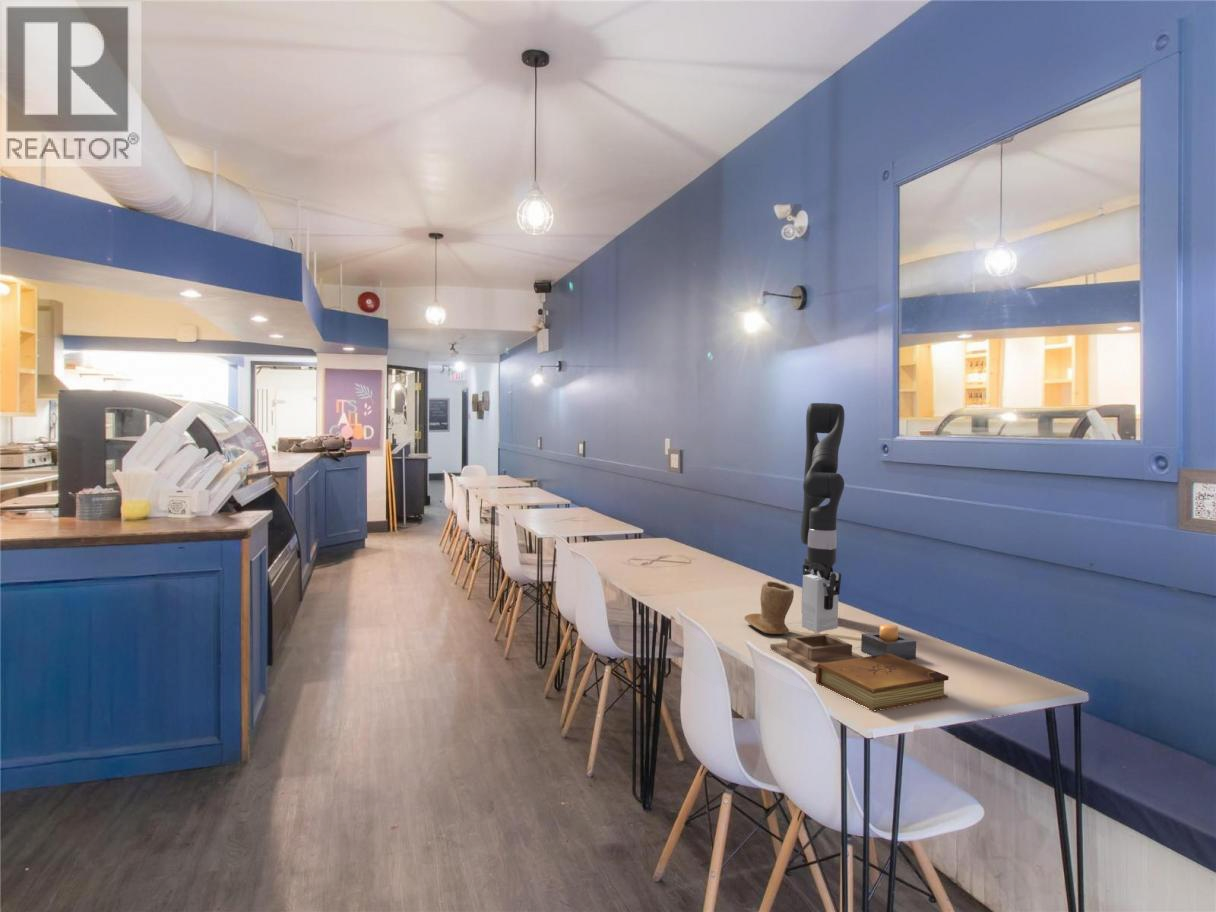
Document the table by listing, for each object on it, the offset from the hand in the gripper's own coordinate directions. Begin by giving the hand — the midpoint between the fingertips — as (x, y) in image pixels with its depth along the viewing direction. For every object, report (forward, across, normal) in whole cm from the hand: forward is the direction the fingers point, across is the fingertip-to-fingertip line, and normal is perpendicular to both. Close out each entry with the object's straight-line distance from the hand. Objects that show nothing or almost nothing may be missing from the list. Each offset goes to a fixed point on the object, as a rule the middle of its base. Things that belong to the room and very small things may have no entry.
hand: (820, 606), depth 189 cm
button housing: (+14, +4, +20) cm, 25 cm away
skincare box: (+6, 0, 0) cm, 6 cm away
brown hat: (+14, -27, +2) cm, 31 cm away
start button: (+10, +4, +20) cm, 23 cm away
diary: (+15, +25, -1) cm, 29 cm away
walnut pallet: (+14, 0, 0) cm, 14 cm away
